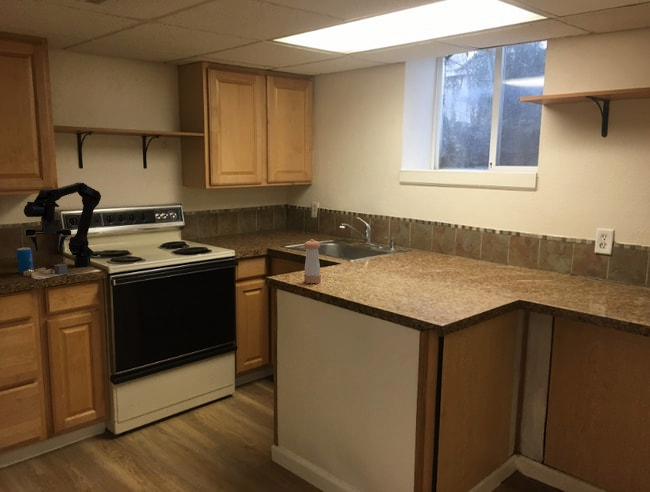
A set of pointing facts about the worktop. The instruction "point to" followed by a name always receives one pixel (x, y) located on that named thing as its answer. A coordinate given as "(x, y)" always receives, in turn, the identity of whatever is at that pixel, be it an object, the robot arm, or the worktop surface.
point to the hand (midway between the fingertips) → (48, 251)
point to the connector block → (60, 269)
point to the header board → (42, 273)
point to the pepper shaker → (312, 262)
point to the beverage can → (24, 259)
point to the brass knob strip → (29, 273)
